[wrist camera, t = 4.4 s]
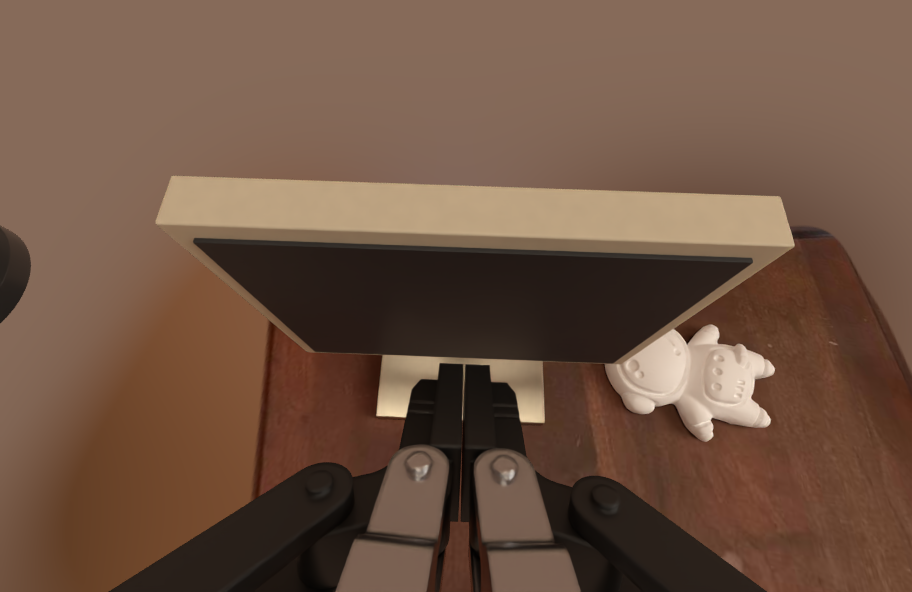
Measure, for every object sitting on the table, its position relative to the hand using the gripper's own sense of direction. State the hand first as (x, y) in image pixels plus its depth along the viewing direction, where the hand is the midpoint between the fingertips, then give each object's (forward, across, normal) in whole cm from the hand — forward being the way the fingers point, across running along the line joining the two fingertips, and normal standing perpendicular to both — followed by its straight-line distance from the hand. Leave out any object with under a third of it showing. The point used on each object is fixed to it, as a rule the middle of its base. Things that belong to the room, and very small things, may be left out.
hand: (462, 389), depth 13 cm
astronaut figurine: (+18, -17, +10) cm, 27 cm away
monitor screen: (+10, 0, +4) cm, 11 cm away
